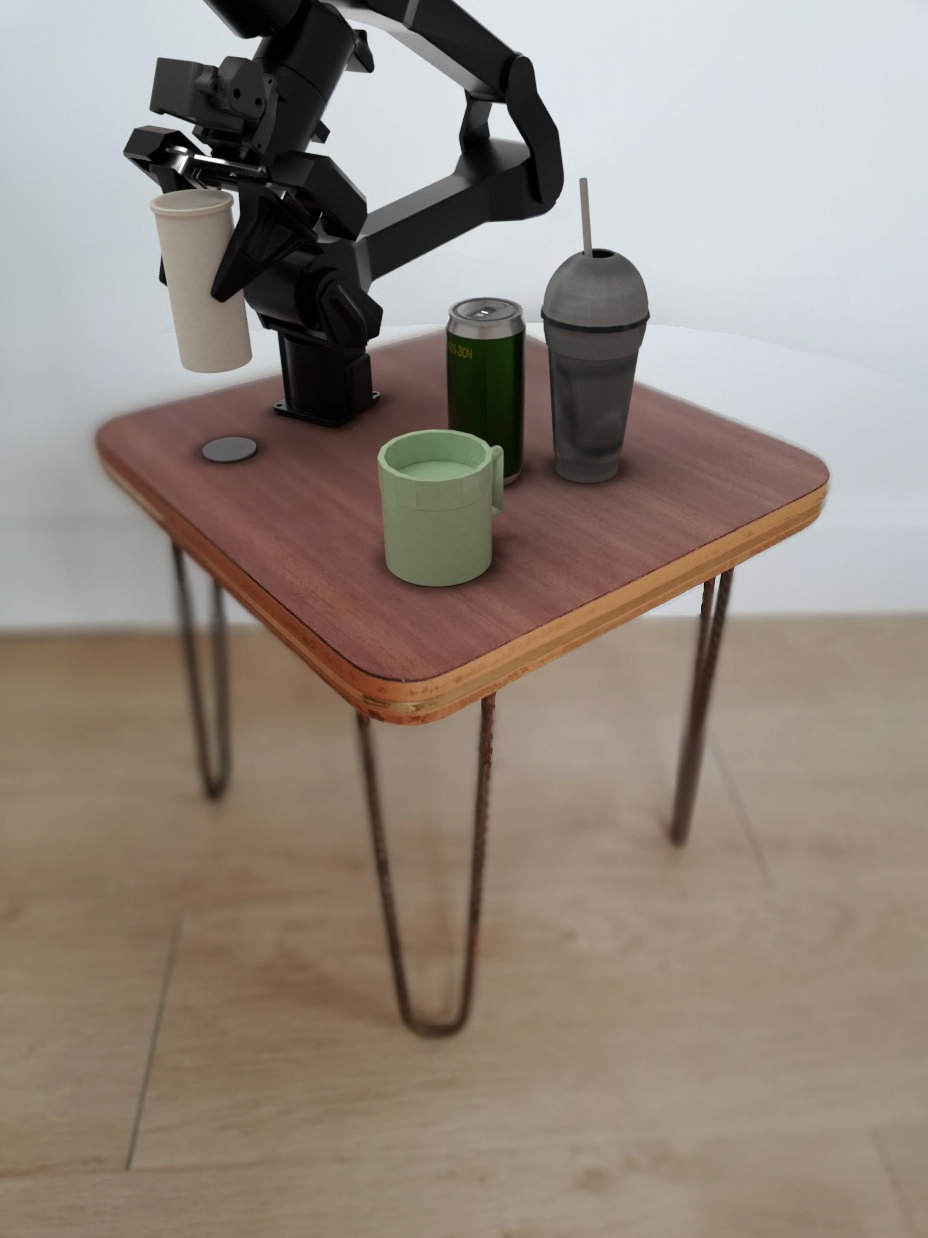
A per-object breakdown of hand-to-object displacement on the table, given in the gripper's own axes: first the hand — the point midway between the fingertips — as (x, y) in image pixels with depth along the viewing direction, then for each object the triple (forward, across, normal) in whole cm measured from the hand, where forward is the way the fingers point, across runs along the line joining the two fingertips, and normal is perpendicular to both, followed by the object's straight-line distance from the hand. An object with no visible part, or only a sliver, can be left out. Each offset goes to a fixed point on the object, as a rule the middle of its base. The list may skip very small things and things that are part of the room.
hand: (189, 291), depth 74 cm
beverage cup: (-1, +23, +20) cm, 30 cm away
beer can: (+2, +17, +16) cm, 24 cm away
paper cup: (+3, 0, +5) cm, 5 cm away
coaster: (+8, 0, +10) cm, 13 cm away
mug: (+10, +22, +8) cm, 25 cm away
